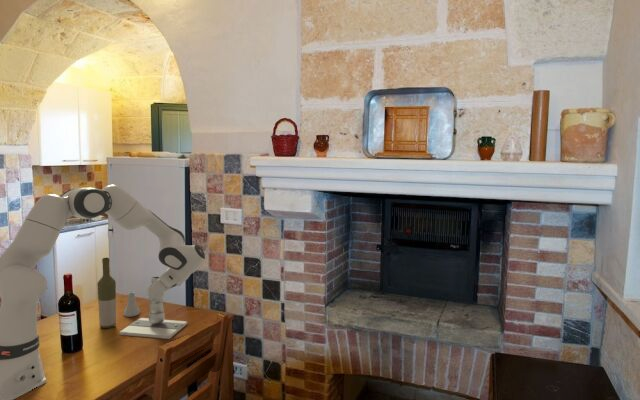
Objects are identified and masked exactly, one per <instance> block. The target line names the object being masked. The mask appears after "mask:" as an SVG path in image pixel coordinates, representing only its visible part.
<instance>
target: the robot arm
mask: <svg viewBox="0 0 640 400" xmlns="http://www.w3.org/2000/svg"><path fill="white" fill-rule="evenodd" d="M103 214H106V215H107V216H109V218H110V219H112V220H113V221H114V222H115V223H116V224H117V225H119V226H120V227H121V228H123V229H124V230H128V231H130V230H132V231H133V230H136V229H138V228H141V227H145V228H146V229H147V230H148V231H150V232H151V233H152V234H154V235H155V236H156V238H158V241H159V249H158V259H159V262H160V263H161V264H162V265H164V266H165V267H167V269H166V270H165V271H164V272H163V273H162V274H161V275H160V276H158V277H159V280H158V281H157V282H156V283H155V284H154V285H153V287H152V288H151V289H150V290H149V292H148V291H147V295H148V294H149V295H150V297H149V296H148V301H149V300H150V301H152V300H153V299H154V298H156V297H158V296H159V295H161V294H163V293H166V292H167V291H169V290H171V289H172V288H176V287H180V286H182V285H183V284H184V282H185V281H187V280H188V279H190V278H189V277H190V276H191V275H192V274H193V273H196V271H197V270H198V269H199V268H200V266H201V265H203V263H204V262H205V259H206V255H205V252H204V250H203V248H202V247H201V246H200V245H199V244H192V245H187V244H185V242H186V237H185V235H184V232H182V231H180V230H179V229H177V228H174V227H173V226H170V225H169V224H167V223H166V222H165V221H164V220H163V219H161V218H160V217H158V216H157V215H156V214H155V213H154V212H152V211H151V210H149V209H148V208H146V207H145V206H143V205H142V203H140V202H139V201H138V200H137V199H136V198H135V197H134V196H133V195H131V194H130V193H129V191H128V192H127V190H125V189H124V188H122V186H121V187H120V186H119V185H117V184H109V185H106V186H104V187H103V188H102V189H99V188H96V187H87V186H86V187H85V186H84V187H83V186H81V187H77V188H72V189H71V188H70V189H68V190H67V191H65V192H63V194H60V195H58V194H53V193H48V194H44V195H41V197H39V199H38V200H37V201H36V202H35V203H34V205H33V206H32V208H31V209H30V211H29V212H28V213H27V215H26V217H25V219H24V220H23V223H22V225H21V226H20V228H19V230H18V232H17V233H16V235H15V237H14V239H13V240H12V242H11V243H10V244H9V246H8V247H7V248H6V249H5V251H4V252H3V253H2V254H1V255H0V300H1V304H0V400H16V399H18V398H19V397H21V396H23V395H25V394H27V393H29V392H30V391H32V389H33V390H35V389H36V387H37V388H39V387H41V386H42V385H44V384H46V383H47V378H46V373H45V371H44V368H43V362H42V357H41V354H40V350H39V347H40V337H39V336H40V335H39V334H38V323H37V320H38V319H37V313H38V306H39V302H40V299H41V298H42V296H44V294H45V292H46V290H47V286H48V283H47V279H46V277H45V276H44V275H43V274H42V273H41V272H40V271H39V270H37V269H36V268H35V267H36V265H38V263H40V261H41V260H42V259H43V258H45V257H46V256H48V255H49V254H50V253H51V252H52V250H53V247H54V245H55V244H56V242H57V240H58V237H59V236H60V233H61V232H62V230H63V227H64V225H65V224H66V222H67V221H68V220H69V219H70V218H77V219H81V220H82V219H95V218H98V217H99V216H101V215H103ZM34 388H35V389H34Z"/></svg>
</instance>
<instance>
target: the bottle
mask: <svg viewBox="0 0 640 400" xmlns="http://www.w3.org/2000/svg"><path fill="white" fill-rule="evenodd" d="M101 262H102V277H100V279H99V280H98V281H97V285H96V286H97V299H98V300H97V302H98V304H97V305H98V320H99V321H98V323H99V326H100V328H102V329H110V328H113V327H115V326H116V325H117V298H116V297H117V291H116V290H117V289H116V285H117V284H116V283H117V282H116V280H115V279H114V278H113V277H112V276H111V273H110V258H109V257H103V258H102V260H101Z"/></svg>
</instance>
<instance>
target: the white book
mask: <svg viewBox="0 0 640 400" xmlns="http://www.w3.org/2000/svg"><path fill="white" fill-rule="evenodd" d="M186 325H188V321H187V320H186V321H184V320H175V319H174V320H173V319H172V320H171V319H165V320H164V321H163V322H162V323H159V324H151V323H150V322H149V318H148V317H140V318H138V319H136V320H134V321H132V322H131V323H130V324H129V325H128V326H126V327H125V328H123V329H122V330H120V331H119V335H120V336H121V335H122V336H133V337H145V338H156V339H167V340H170V339H171V338H172V337H173V336H175V335H176V334H177V333H178V332H180V331H181V330H182V329H183V328H184V327H186Z"/></svg>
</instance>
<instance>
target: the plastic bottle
mask: <svg viewBox="0 0 640 400" xmlns="http://www.w3.org/2000/svg"><path fill="white" fill-rule="evenodd" d="M159 277H160V276H153V277H150V278H151V279H150V285H149V287H148V289H147V295H148V298H149V297H150V295H149V294H148V292H149V290H150V289H151V288H152V287H153V285H154V284H155V283H156V282H157V281H158V280H159ZM164 293H165V292H164ZM164 293H163V294H161V295H159V296H158V297H156V298H154V299H153V300H152V301H150V300H149V299H148V301H149V310H148V311H149V312H148V317H147V318H149V322H150V323H151V324H159V323H162V322H163V321H164V320H166V315H165V310H164Z"/></svg>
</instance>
